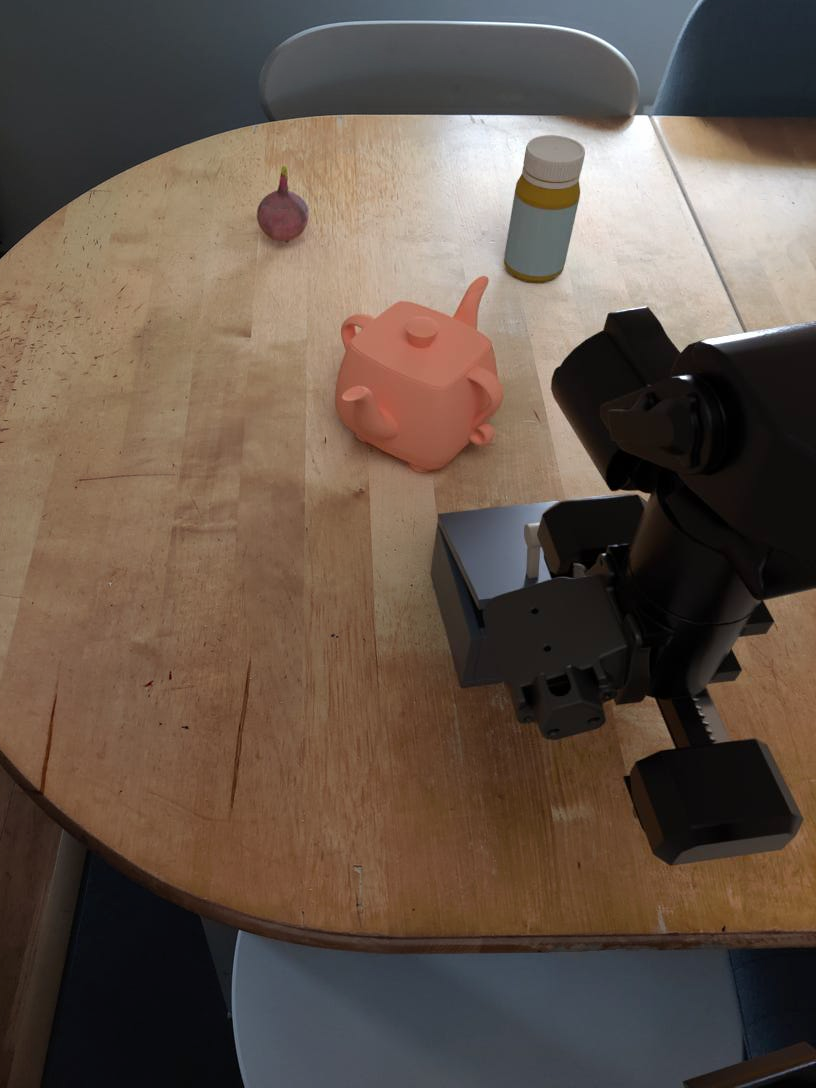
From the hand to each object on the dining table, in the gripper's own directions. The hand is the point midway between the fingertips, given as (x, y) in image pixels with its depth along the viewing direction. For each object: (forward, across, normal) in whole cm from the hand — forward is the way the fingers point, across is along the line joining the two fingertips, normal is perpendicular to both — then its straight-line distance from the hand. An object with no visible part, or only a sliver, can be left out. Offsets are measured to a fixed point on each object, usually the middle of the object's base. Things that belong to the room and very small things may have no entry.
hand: (612, 732), depth 50 cm
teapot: (+14, -38, -3) cm, 41 cm away
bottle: (+14, -63, +16) cm, 67 cm away
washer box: (+13, -16, +2) cm, 21 cm away
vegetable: (+14, -72, -12) cm, 74 cm away
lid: (+4, -16, +2) cm, 17 cm away
